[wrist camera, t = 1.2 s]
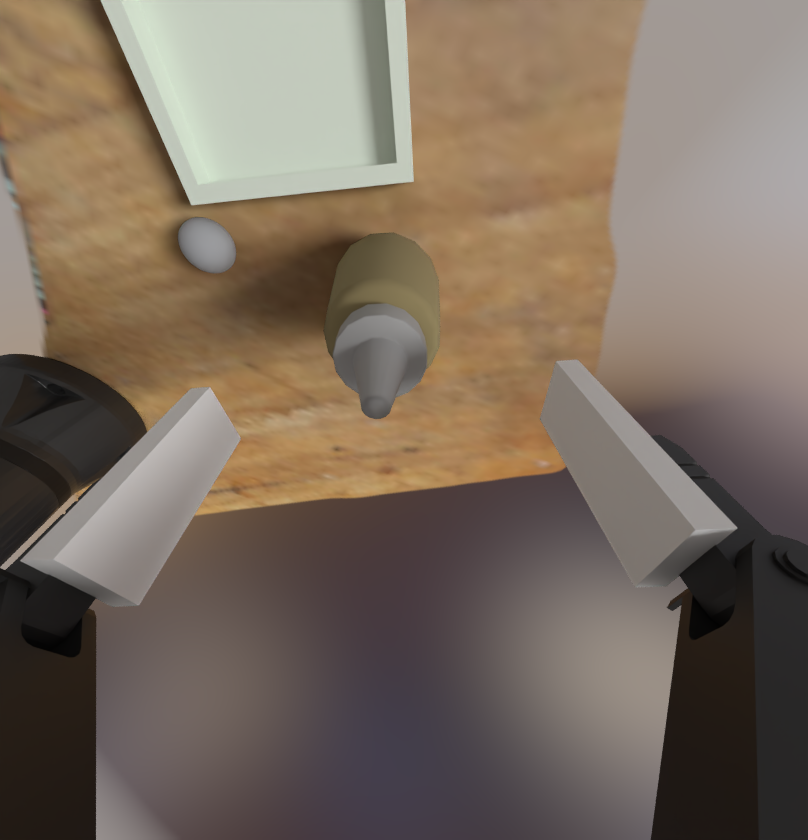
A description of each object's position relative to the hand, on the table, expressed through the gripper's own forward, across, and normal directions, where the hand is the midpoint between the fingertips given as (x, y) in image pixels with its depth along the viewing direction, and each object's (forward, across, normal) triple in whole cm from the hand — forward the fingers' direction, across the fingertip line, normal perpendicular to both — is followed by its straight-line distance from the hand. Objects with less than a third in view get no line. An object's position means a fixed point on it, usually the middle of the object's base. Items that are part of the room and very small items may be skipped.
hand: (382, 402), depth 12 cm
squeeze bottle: (+18, 0, 0) cm, 18 cm away
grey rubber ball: (+18, -13, +4) cm, 22 cm away
